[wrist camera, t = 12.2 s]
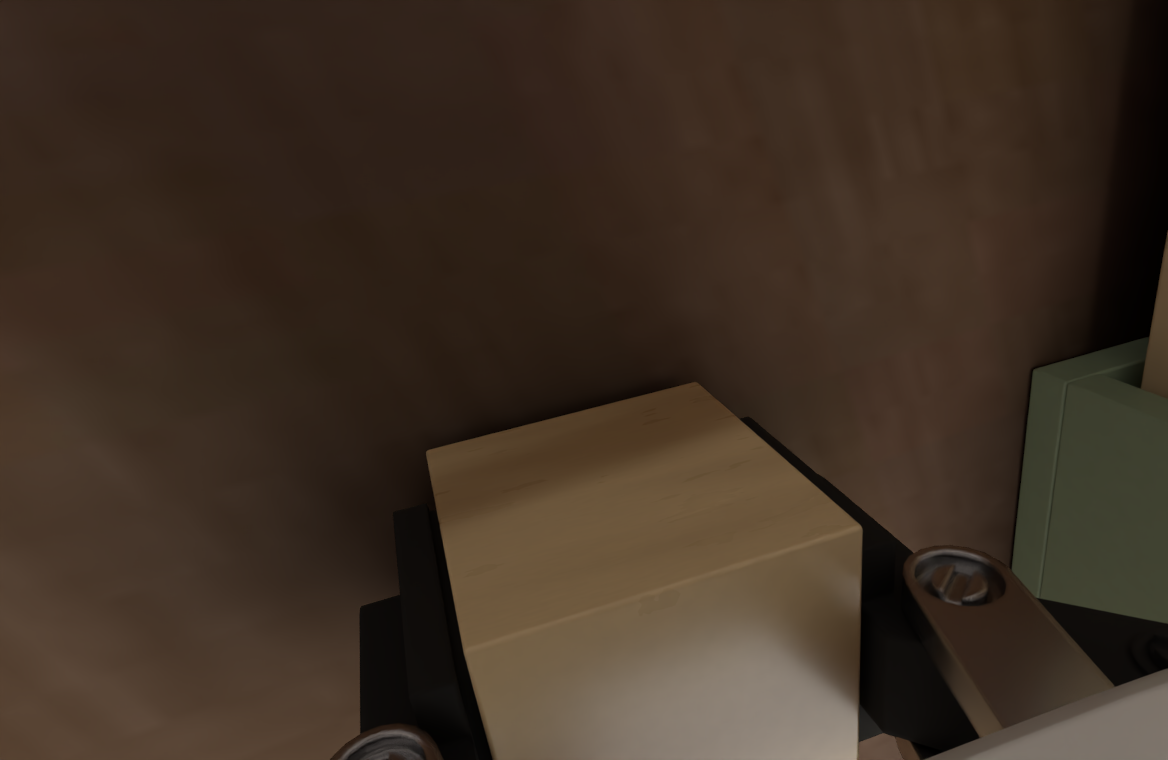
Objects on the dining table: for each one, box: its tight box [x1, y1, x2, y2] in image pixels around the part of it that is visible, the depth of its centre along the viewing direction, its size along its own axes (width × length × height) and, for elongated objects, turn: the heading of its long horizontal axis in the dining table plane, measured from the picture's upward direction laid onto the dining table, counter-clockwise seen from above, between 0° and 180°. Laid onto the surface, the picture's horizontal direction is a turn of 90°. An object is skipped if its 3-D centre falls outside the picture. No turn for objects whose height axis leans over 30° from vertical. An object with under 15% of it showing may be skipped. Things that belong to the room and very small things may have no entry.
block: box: [426, 382, 863, 760], centre depth 11 cm, size 4×4×4 cm
